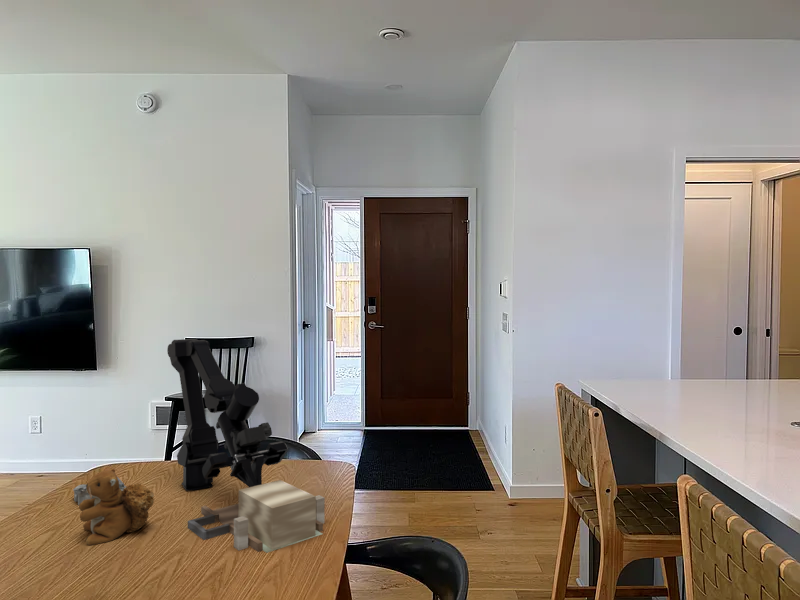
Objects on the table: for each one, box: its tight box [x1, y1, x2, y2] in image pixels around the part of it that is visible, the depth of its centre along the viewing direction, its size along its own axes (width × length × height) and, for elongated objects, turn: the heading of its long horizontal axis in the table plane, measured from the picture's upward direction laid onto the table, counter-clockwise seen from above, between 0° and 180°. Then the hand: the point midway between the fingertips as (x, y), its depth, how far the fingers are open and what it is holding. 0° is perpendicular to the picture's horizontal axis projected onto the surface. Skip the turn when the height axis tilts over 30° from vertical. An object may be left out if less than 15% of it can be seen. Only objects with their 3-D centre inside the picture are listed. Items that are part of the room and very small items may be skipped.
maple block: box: [238, 479, 317, 550], centre depth 118 cm, size 14×10×8 cm
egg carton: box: [72, 476, 127, 506], centre depth 138 cm, size 11×8×4 cm
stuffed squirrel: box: [78, 468, 155, 546], centre depth 118 cm, size 10×14×13 cm
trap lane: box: [187, 494, 326, 554], centre depth 122 cm, size 28×26×6 cm
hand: (259, 492), depth 123 cm, fingers closed, pressing on maple block
